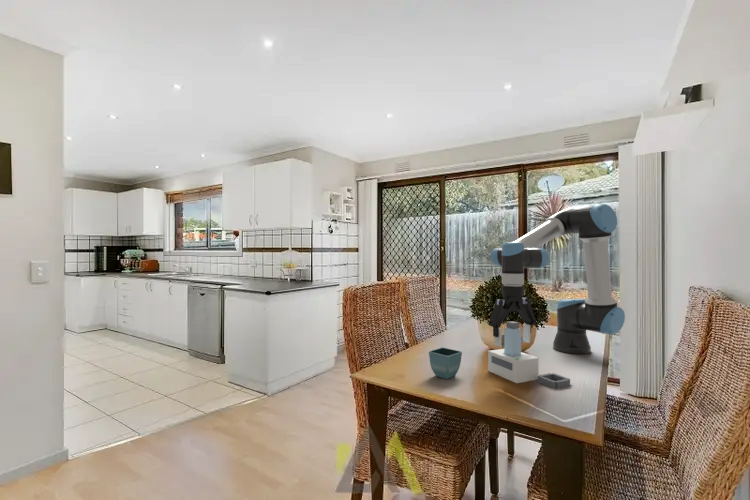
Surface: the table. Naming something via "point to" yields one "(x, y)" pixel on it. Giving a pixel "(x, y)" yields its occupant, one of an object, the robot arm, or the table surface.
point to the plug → (512, 339)
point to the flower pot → (445, 362)
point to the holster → (554, 380)
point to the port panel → (513, 366)
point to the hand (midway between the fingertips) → (512, 344)
